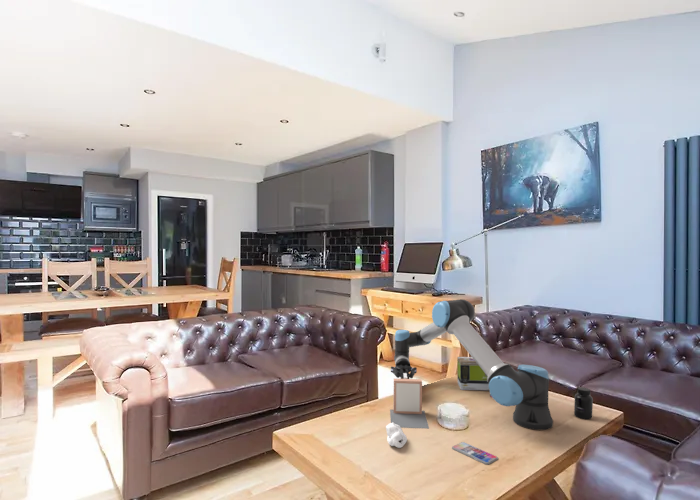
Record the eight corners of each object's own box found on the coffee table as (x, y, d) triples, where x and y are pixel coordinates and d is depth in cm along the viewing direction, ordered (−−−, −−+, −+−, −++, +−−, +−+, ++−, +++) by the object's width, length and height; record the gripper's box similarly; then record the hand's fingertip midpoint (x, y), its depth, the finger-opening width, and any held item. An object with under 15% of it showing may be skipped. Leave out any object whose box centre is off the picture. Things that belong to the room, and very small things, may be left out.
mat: (389, 410, 186) (389, 409, 186) (424, 411, 185) (424, 410, 185) (391, 428, 168) (391, 427, 168) (429, 430, 167) (429, 428, 167)
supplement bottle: (575, 418, 179) (575, 390, 179) (573, 412, 185) (573, 385, 185) (593, 421, 176) (594, 392, 176) (591, 414, 183) (591, 387, 183)
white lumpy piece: (399, 453, 149) (386, 432, 150) (386, 451, 159) (373, 432, 160) (416, 437, 153) (402, 417, 154) (402, 436, 164) (389, 417, 165)
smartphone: (462, 441, 157) (499, 457, 145) (462, 443, 157) (499, 459, 145) (450, 446, 152) (487, 463, 140) (450, 449, 152) (487, 466, 140)
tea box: (486, 384, 222) (486, 356, 221) (490, 391, 212) (491, 362, 211) (456, 383, 223) (457, 355, 223) (460, 390, 213) (460, 361, 213)
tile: (393, 410, 185) (393, 378, 185) (421, 411, 184) (421, 379, 184) (393, 413, 182) (393, 380, 182) (421, 414, 181) (422, 381, 181)
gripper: (415, 372, 215) (420, 389, 191) (389, 372, 216) (391, 388, 192) (415, 358, 215) (420, 372, 191) (390, 357, 216) (391, 371, 192)
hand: (405, 380), depth 192 cm, fingers closed
